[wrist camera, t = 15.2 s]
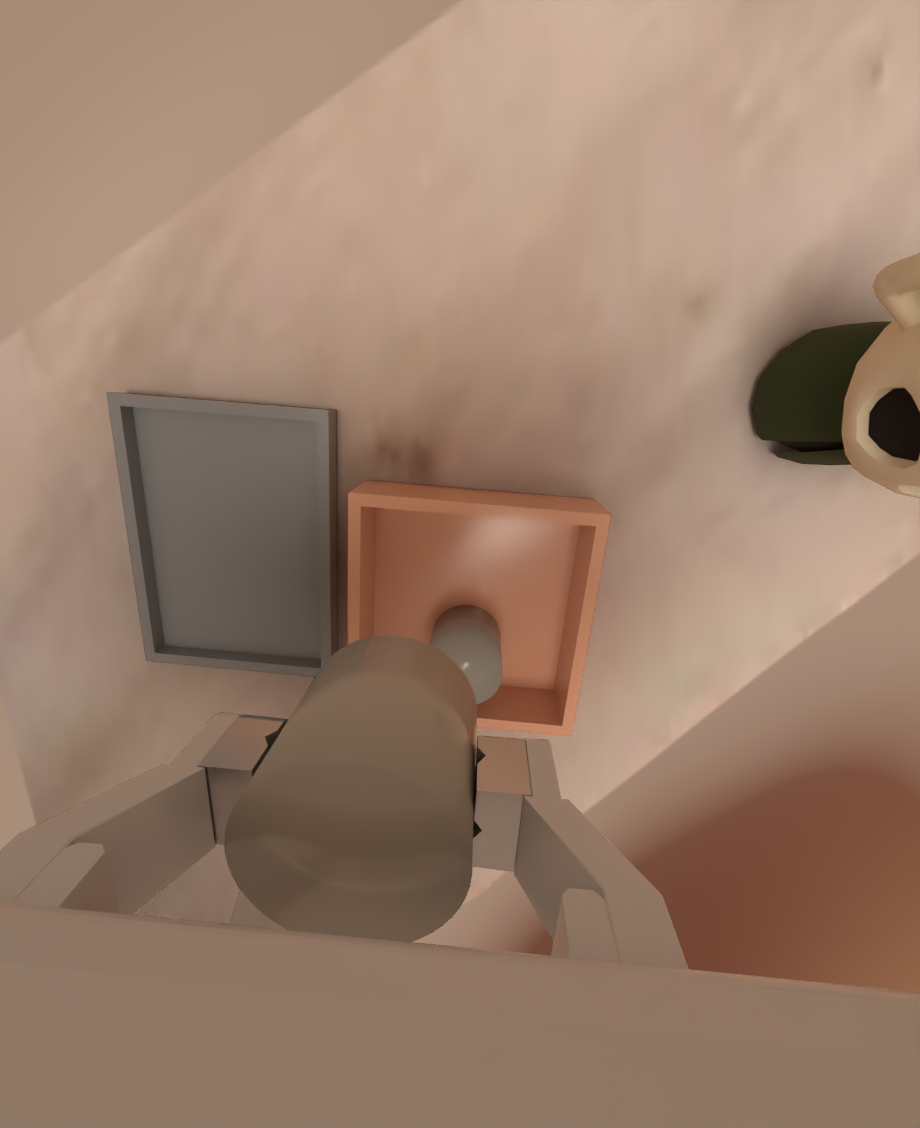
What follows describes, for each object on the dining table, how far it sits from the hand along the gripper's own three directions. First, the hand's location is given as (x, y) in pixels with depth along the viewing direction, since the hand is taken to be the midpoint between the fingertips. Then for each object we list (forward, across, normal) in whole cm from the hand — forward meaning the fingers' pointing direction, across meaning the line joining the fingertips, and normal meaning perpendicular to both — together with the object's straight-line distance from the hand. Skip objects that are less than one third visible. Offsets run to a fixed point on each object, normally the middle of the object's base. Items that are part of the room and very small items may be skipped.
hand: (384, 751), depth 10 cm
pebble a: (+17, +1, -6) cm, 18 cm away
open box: (+17, +2, -3) cm, 18 cm away
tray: (+17, -12, -1) cm, 21 cm away
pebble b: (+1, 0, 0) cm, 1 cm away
